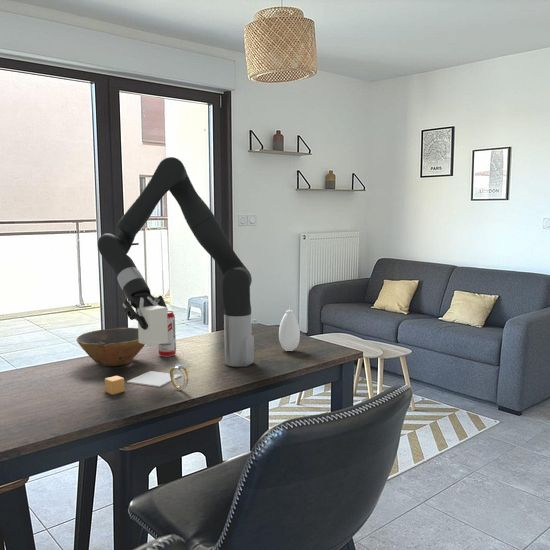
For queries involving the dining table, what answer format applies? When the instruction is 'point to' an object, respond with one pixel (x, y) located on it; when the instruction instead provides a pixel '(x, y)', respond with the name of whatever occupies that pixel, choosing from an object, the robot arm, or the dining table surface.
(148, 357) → the dining table surface
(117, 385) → the fully visible orange block
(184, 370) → the ring
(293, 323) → the sauce bottle
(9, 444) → the dining table surface
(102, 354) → the bowl
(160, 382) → the mat
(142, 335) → the white rectangular block
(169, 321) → the beer can
